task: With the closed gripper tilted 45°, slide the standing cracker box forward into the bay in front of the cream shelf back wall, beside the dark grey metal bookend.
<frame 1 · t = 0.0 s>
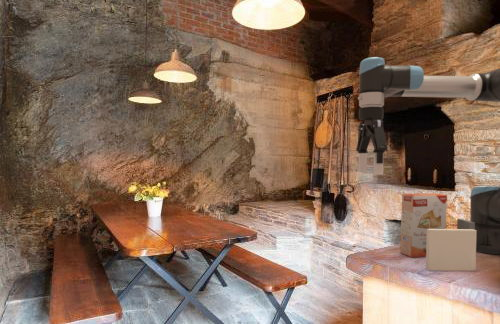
hand: (369, 173, 110), 28 cm above the worktop, tool pointing down, fingers open, 13 cm apart
cracker box: (422, 255, 117), on the worktop
shelf bookend: (443, 265, 105), on the worktop
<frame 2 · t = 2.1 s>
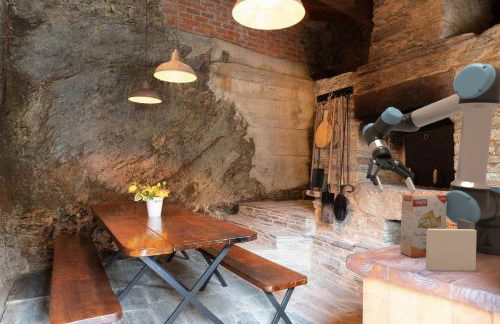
hand: (397, 191, 134), 20 cm above the worktop, tool tilted 45°, fingers open, 13 cm apart
nothing on the worktop moved.
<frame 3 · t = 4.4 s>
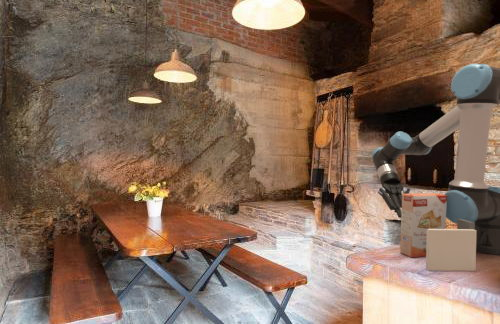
hand: (406, 224, 129), 8 cm above the worktop, tool tilted 45°, fingers closed
nothing on the worktop moved.
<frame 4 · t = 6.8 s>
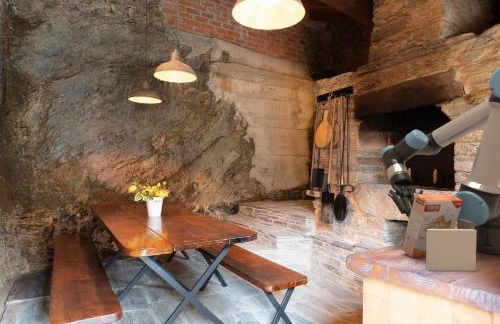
hand: (420, 229, 117), 8 cm above the worktop, tool tilted 45°, fingers closed
cracker box: (424, 253, 116), on the worktop, touching gripper
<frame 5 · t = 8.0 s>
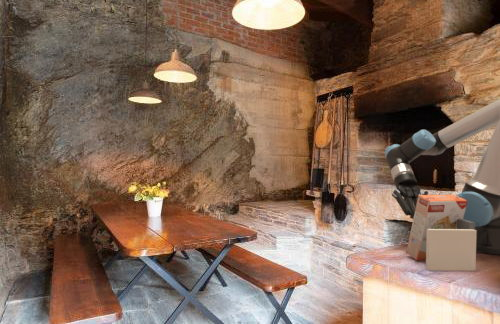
hand: (424, 231, 115), 8 cm above the worktop, tool tilted 45°, fingers closed
cracker box: (429, 256, 113), on the worktop, touching gripper, shelf bookend
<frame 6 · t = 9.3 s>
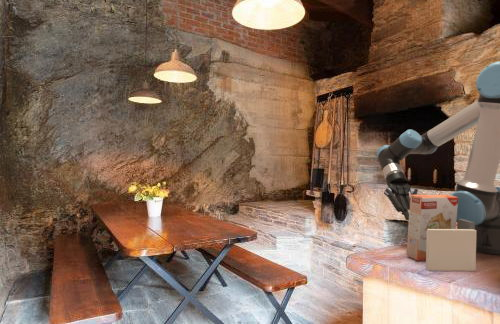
hand: (414, 227, 121), 8 cm above the worktop, tool tilted 45°, fingers closed
cracker box: (429, 258, 113), on the worktop
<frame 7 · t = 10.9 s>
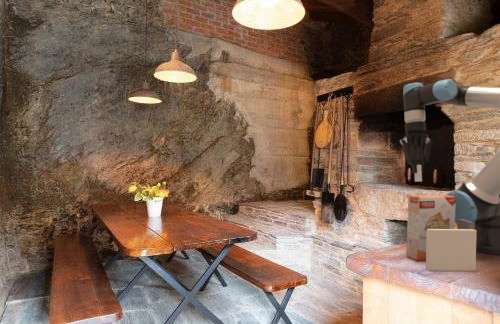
hand: (418, 181, 134), 24 cm above the worktop, tool pointing down, fingers closed
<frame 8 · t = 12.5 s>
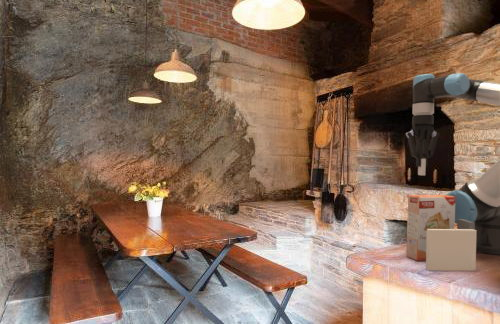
hand: (421, 175, 133), 26 cm above the worktop, tool pointing down, fingers closed
nothing on the worktop moved.
at the end: cracker box 1.6 cm from the target spot, on the worktop; cracker box moved 4.2 cm from its start; cracker box tilted 0° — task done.
